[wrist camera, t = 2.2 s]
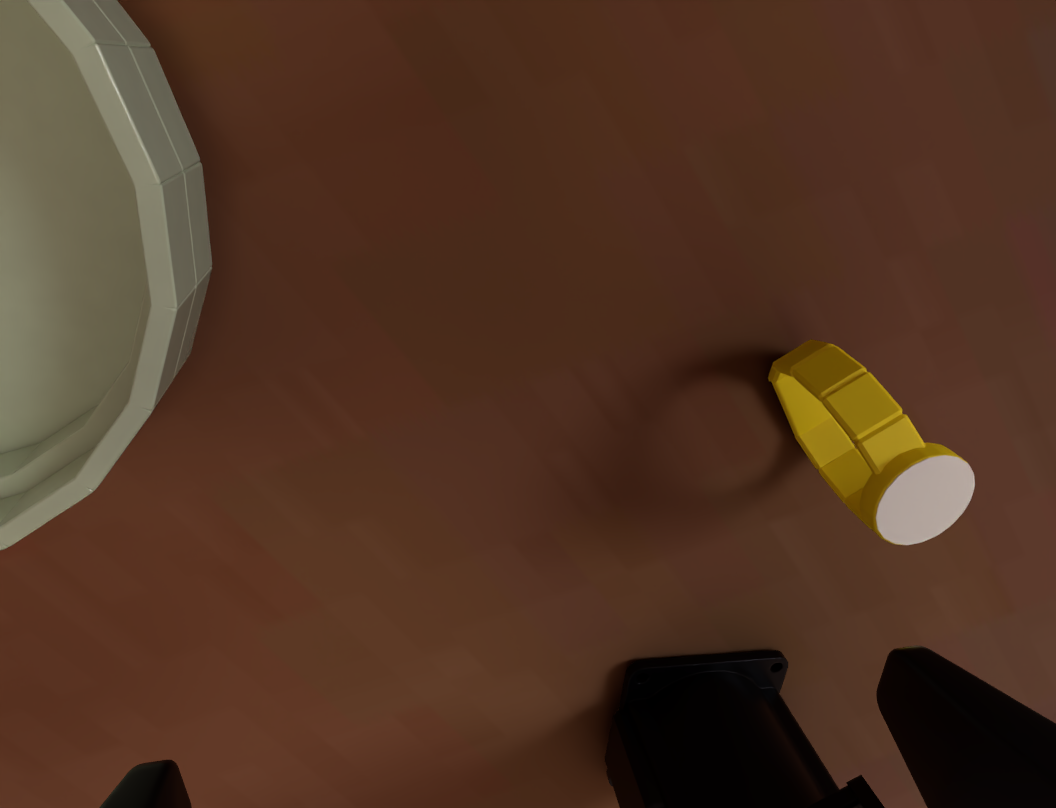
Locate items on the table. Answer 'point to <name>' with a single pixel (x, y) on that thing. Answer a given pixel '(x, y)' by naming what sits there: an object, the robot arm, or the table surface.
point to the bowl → (88, 249)
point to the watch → (869, 446)
